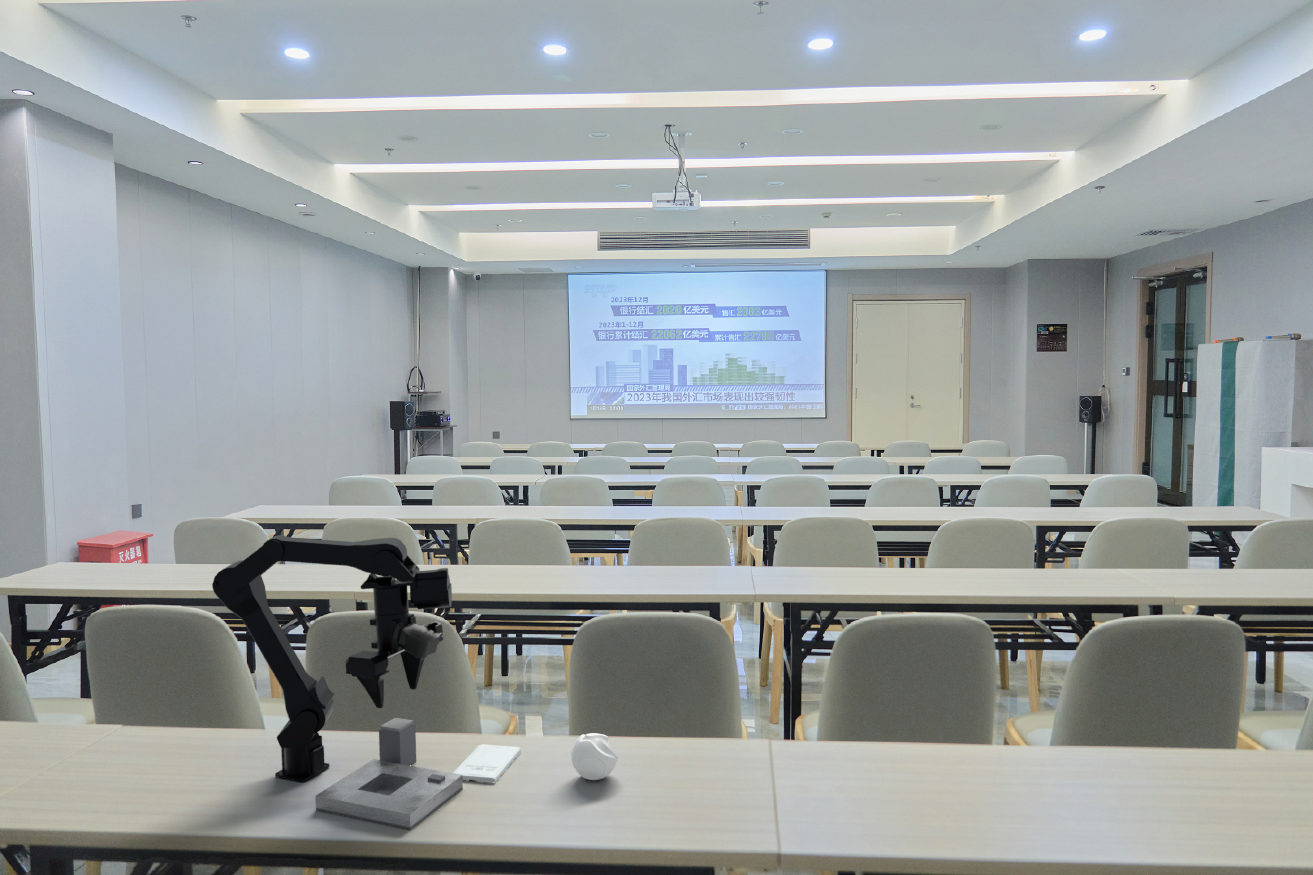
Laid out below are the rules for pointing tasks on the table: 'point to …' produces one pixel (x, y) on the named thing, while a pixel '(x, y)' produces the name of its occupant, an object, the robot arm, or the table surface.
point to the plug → (398, 741)
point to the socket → (390, 793)
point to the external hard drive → (487, 763)
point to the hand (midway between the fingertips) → (397, 698)
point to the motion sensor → (593, 756)
